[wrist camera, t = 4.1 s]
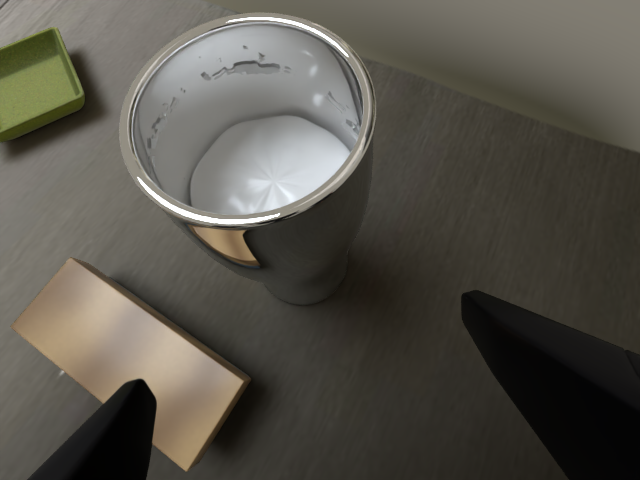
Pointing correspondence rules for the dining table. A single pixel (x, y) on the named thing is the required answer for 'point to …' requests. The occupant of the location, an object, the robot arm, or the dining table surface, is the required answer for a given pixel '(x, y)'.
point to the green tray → (36, 84)
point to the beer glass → (257, 147)
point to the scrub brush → (133, 356)
